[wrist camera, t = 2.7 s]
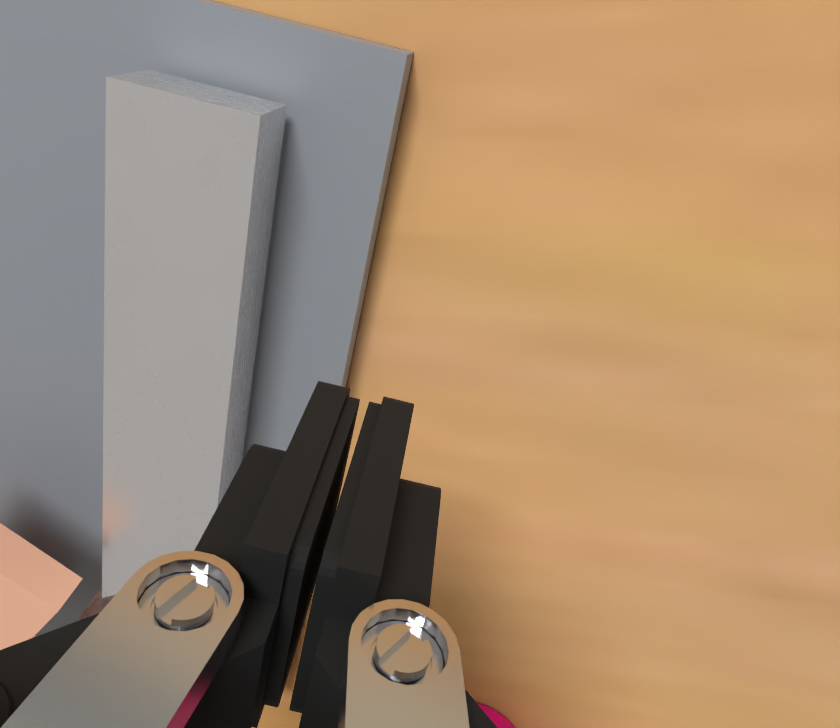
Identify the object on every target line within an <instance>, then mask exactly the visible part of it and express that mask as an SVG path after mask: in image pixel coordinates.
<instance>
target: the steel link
mask: <svg viewBox="0 0 840 728" xmlns="http://www.w3.org/2000/svg"><path fill="white" fill-rule="evenodd" d="M286 110H287V105H286V104H282V103H278V102H274V101H270V100H267V99H263V98H259V97H255V96H251V95H247V94H243V93H239V92H235V91H231V90H228V89H224V88H220V87H216V86H212V85H208V84H204V83H200V82H196V81H192V80H189V79H185V78H181V77H177V76H173V75H169V74H165V73H161V72H157V71H153V70H144V71H137V72H131V73H124V74H118V75H111V76H106V128H105V258H104V388H103V517H102V586H101V587H100V589H99V590H98V592H97V593H96V594H95V596H94V597H93V599H92V600H91V602H90V603H89V604H88V606H87V607H86V609H85V610H84V611H83V613H82V615H81V616H80V618H79V620H82V619H84V618H87V617H90V616H92V615H95V614H98V613H100V612H101V611H102V610H103V609H104V608H105V607H106V605H107V604H108V603H109V602H110V601H111V600H112V598H113V597H114V596H115V595H116V594H117V593H118V591H119V590H120V589H121V588H122V587H123V586H124V585H125V583H126V582H127V581H128V580H129V579H130V578H131V576H132V575H133V574H134V573H135V572H136V571H138V570H139V569H140V568H141V567H142V566H143V565H145V564H146V563H147V562H149V561H151V560H153V559H155V558H157V557H160V556H162V555H165V554H169V553H174V552H178V551H194V550H195V548H196V546H197V544H198V543H199V541H200V539H201V537H202V535H203V533H204V531H205V530H206V528H207V526H208V524H209V522H210V520H211V518H212V517H213V515H214V513H215V511H216V509H217V507H218V506H219V504H220V502H221V500H222V498H223V496H224V494H225V493H226V491H227V489H228V487H229V485H230V483H231V481H232V480H233V478H234V476H235V474H236V472H237V470H238V469H239V467H240V465H241V463H242V458H243V450H244V442H245V434H246V426H247V418H248V410H249V402H250V394H251V387H252V379H253V371H254V363H255V355H256V347H257V339H258V331H259V323H260V316H261V308H262V300H263V292H264V284H265V276H266V268H267V260H268V252H269V245H270V237H271V229H272V221H273V213H274V205H275V197H276V189H277V181H278V173H279V166H280V158H281V150H282V142H283V134H284V126H285V118H286Z"/></svg>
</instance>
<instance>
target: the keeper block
mask: <svg viewBox="0 0 840 728" xmlns="http://www.w3.org/2000/svg"><path fill="white" fill-rule="evenodd" d="M82 579H83V578H81V577H80V576H78V575H77V574H75V573H74V572H72V571H71V570H69V569H68V568H66V567H65V566H63V565H62V564H60V563H59V562H57V561H56V560H55V559H53V558H52V557H50V556H49V555H47V554H46V553H44V552H43V551H41V550H40V549H38V548H37V547H35V546H34V545H32V544H31V543H29V542H28V541H26V540H25V539H23V538H22V537H20V536H19V535H17V534H16V533H14V532H13V531H11V530H10V529H8V528H7V527H5V526H4V525H2V524H1V523H0V650H2V649H4V648H7V647H10V646H12V645H15V644H18V643H20V642H23V641H26V640H28V639H31V638H33V637H34V636H35V635H36V634H37V633H38V632H39V631H40V630H41V629H42V628H43V626H44V625H45V624H46V623H47V622H48V621H49V620H50V619H51V618H52V617H53V616H54V615H55V614H56V613H57V612H58V611H59V610H60V608H61V607H62V606H63V604H64V603H65V602H66V600H67V599H68V598H69V596H70V595H71V594H72V592H73V591H74V590H75V588H76V587H77V586H78V584H79V583H80V582H81V580H82Z"/></svg>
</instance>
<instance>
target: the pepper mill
mask: <svg viewBox="0 0 840 728" xmlns="http://www.w3.org/2000/svg"><path fill="white" fill-rule="evenodd" d="M477 704H478V705H479V706H480V708H481V709H482V710H483V711H484V712H485V713H486V715H487V716H488V717H489V718H490V719H491V721H492V722H493V723H494V724H495V725H496V727H497V728H515V727H514V726H513V725H512V724H511V723H510V722H509V720H508V719H507V718H506V717H505V716H503V715H502V714H500V713H498V712H497V711H495V710H494V709H492V708H490V707H488V706H485V705H482V704H479V703H477Z"/></svg>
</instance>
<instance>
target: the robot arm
mask: <svg viewBox="0 0 840 728" xmlns="http://www.w3.org/2000/svg"><path fill="white" fill-rule="evenodd" d="M349 391H350V388H346V387H342V386H338V385H334V384H330V383H326V382H322V381H318V383H317V384H316V387H315V389H314V391H313V393H312V395H311V398H310V400H309V402H308V404H307V406H306V409H305V411H304V413H303V415H302V417H301V420H300V422H299V424H298V426H297V428H296V431H295V433H294V435H293V437H292V439H291V441H290V444H289V446H288V448H287V450H286V451H283V450H279V449H275V448H271V447H266V446H262V445H258V444H253V445H252V446H251V447H250V449H249V450H248V452H247V454H246V456H245V457H244V459H243V461H242V463H241V465H240V467H239V469H238V470H237V472H236V474H235V476H234V478H233V480H232V481H231V483H230V485H229V487H228V489H227V491H226V493H225V494H224V496H223V498H222V500H221V502H220V504H219V506H218V507H217V509H216V511H215V513H214V515H213V517H212V518H211V520H210V522H209V524H208V526H207V528H206V530H205V531H204V533H203V535H202V537H201V539H200V541H199V543H198V544H197V546H196V548H195V550H194V551H178V552H174V553H169V554H165V555H162V556H160V557H157V558H155V559H153V560H151V561H149V562H147V563H146V564H145V565H143V566H142V567H141V568H140V569H139V570H138V571H136V572H135V573H134V574H133V575H132V576H131V578H130V579H129V580H128V581H127V582H126V583H125V585H124V586H123V587H122V588H121V589H120V590H119V591H118V593H117V594H116V595H115V596H114V597H113V598H112V600H111V601H110V602H109V603H108V604H107V605H106V607H105V608H104V609H103V610H102V611H101V612H100V613H98V614H95V615H92V616H90V617H87V618H84V619H82V620H79V621H76V622H74V623H71V624H68V625H66V626H63V627H60V628H58V629H55V630H52V631H50V632H47V633H44V634H42V635H39V636H36V637H34V638H31V639H28V640H26V641H23V642H20V643H18V644H15V645H12V646H10V647H7V648H4V649H2V650H0V728H251V727H255V728H257V726H258V723H259V720H260V717H261V714H262V711H263V707H264V704H265V705H270V706H274V707H278V706H279V703H280V700H281V696H282V693H283V690H284V687H285V683H286V680H287V677H288V673H289V670H290V667H291V663H292V660H293V657H294V653H295V650H296V647H297V643H298V640H299V637H300V634H301V630H302V627H303V624H304V620H305V617H306V614H307V610H308V607H309V604H310V600H311V597H312V594H313V590H314V587H315V590H314V595H313V600H312V605H311V609H310V614H309V619H308V624H307V628H306V633H305V638H304V643H303V647H302V652H301V657H300V662H299V666H298V671H297V676H296V681H295V685H294V690H293V695H292V700H291V704H290V710H291V711H296V712H300V713H302V716H301V721H300V725H299V728H497V727H496V725H495V724H494V723H493V722H492V721H491V719H490V718H489V717H488V716H487V715H486V713H485V712H484V711H483V710H482V709H481V708H480V706H479V705H478V704H477V703H476V702H475V700H474V699H473V698H472V697H471V696H470V694H469V693H468V692H467V691H466V690H465V686H464V678H463V670H462V661H461V653H460V648H459V645H458V641H457V638H456V635H455V633H454V632H453V630H452V629H451V627H450V626H449V624H448V623H447V622H446V621H445V620H444V619H443V618H442V617H441V616H440V615H439V614H437V613H436V612H435V611H434V610H432V609H430V608H429V605H430V595H431V585H432V575H433V566H434V556H435V546H436V537H437V527H438V517H439V508H440V498H441V489H440V488H437V487H433V486H429V485H425V484H421V483H417V482H412V481H408V480H404V479H400V475H401V470H402V465H403V460H404V454H405V449H406V444H407V439H408V434H409V428H410V423H411V418H412V413H413V408H414V404H412V403H408V402H404V401H400V400H396V399H392V398H388V397H383V401H382V404H377V403H373V402H369V405H368V408H367V411H366V414H365V418H364V421H363V424H362V428H361V431H360V434H359V437H358V441H357V444H356V447H355V450H354V454H353V457H352V460H351V464H350V467H349V470H348V473H347V477H346V480H345V483H344V487H343V490H342V493H341V496H340V500H339V495H340V490H341V486H342V481H343V477H344V472H345V467H346V463H347V458H348V453H349V449H350V444H351V439H352V435H353V430H354V425H355V421H356V416H357V411H358V407H359V401H360V399H356V398H352V397H349ZM338 500H339V503H338ZM337 504H338V506H337ZM336 509H337V510H336ZM315 584H316V586H315Z"/></svg>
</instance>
